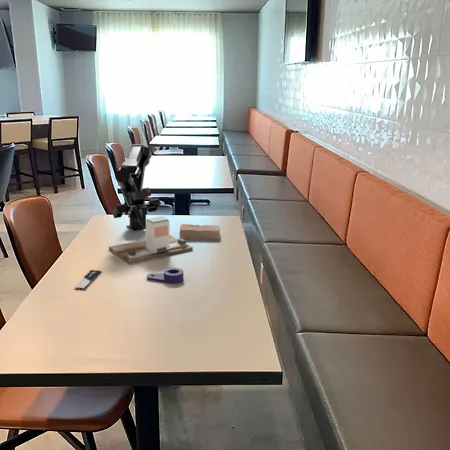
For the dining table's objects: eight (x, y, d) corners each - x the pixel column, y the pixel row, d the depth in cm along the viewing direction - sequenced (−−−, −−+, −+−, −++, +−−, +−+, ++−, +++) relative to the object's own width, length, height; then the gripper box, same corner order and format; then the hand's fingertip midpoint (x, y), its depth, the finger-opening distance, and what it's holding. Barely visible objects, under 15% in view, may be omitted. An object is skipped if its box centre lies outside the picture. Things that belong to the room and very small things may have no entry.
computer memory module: (85, 288, 143) (72, 287, 144) (85, 291, 144) (73, 290, 144) (102, 270, 158) (91, 269, 158) (102, 273, 158) (91, 272, 158)
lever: (185, 277, 156) (185, 268, 155) (181, 285, 150) (181, 275, 149) (149, 275, 157) (149, 266, 156) (144, 282, 151) (144, 273, 150)
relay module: (146, 248, 174) (145, 218, 170) (162, 245, 178) (162, 216, 174) (153, 253, 170) (153, 222, 166) (170, 249, 174) (170, 219, 170)
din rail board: (108, 249, 178) (108, 240, 177) (168, 237, 193) (168, 229, 192) (130, 264, 164) (129, 254, 163) (192, 250, 179) (192, 241, 178)
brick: (219, 234, 200) (219, 223, 199) (220, 240, 192) (220, 229, 191) (180, 234, 199) (180, 223, 198) (179, 240, 191) (179, 229, 190)
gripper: (114, 184, 174) (129, 220, 169) (158, 178, 185) (173, 212, 180) (106, 200, 182) (120, 235, 177) (149, 194, 193) (163, 226, 188)
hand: (145, 226), depth 180 cm, fingers closed
